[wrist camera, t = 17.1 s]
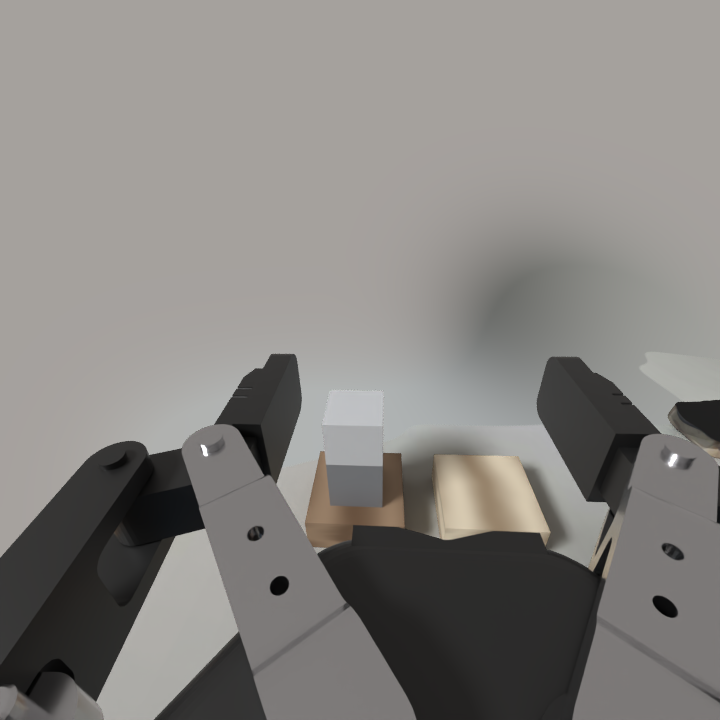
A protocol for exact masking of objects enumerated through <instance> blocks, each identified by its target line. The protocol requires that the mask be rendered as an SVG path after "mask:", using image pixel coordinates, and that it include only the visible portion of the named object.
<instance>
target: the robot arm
mask: <svg viewBox="0 0 720 720" xmlns="http://www.w3.org/2000/svg"><path fill="white" fill-rule="evenodd" d="M301 401H302V397H301V387H300V380H299V372H298V364H297V358H296V356H295V355H294V354H271V355H270V357H269V359H268V361H267V362H266V364H265V366H264V368H263V369H254V370H253V371H252V372H250V373H249V374H248V375H246V376H245V377H244V378H243V379H242V381H241V383H240V384H239V386H238V389H236V391H235V392H234V394H233V397H232V398H231V399H230V400H229V402H228V403H227V405H226V407H225V408H224V410H223V411H222V413H221V415H220V416H219V418H218V419H217V421H216V423H215V424H214V425H212V426H208V427H205V428H202V429H200V430H198V431H196V432H195V433H194V434H192V435H191V436H190V437H189V438H188V439H187V440H186V441H185V443H184V444H183V447H182V448H181V449H177V450H172V451H167V452H162V453H157V454H152V455H149V454H148V451H147V449H146V447H145V446H144V445H143V444H141V443H139V442H136V441H125V442H120V443H116V444H113V445H110V446H107V447H105V448H103V449H101V450H99V451H98V452H96V453H95V454H93V455H92V456H91V457H90V458H88V459H87V460H86V461H85V462H84V464H83V465H82V466H81V467H80V468H79V469H78V470H77V471H76V473H75V474H74V475H73V476H72V477H71V478H70V479H69V481H68V482H67V483H66V484H65V485H64V486H63V487H62V488H61V490H60V491H59V492H58V493H57V494H56V495H55V497H54V498H53V499H52V500H51V501H50V502H49V503H48V504H47V505H46V507H45V508H44V509H43V510H42V511H41V512H40V513H39V515H38V516H37V517H36V518H35V519H34V520H33V521H32V522H31V524H30V525H29V526H28V527H27V528H26V529H25V530H24V532H23V533H22V534H21V535H20V536H19V537H18V539H17V540H16V541H15V542H14V543H13V544H12V545H11V546H10V548H9V549H8V550H7V551H6V552H5V553H4V554H3V555H2V557H1V558H0V720H104V718H103V713H102V710H101V708H100V707H99V705H98V704H97V703H96V701H97V699H98V697H99V695H100V692H101V690H102V688H103V686H104V684H105V682H106V680H107V678H108V676H109V674H110V672H111V670H112V667H113V665H114V663H115V661H116V659H117V657H118V655H119V653H120V651H121V649H122V647H123V644H124V642H125V640H126V638H127V636H128V634H129V632H130V630H131V628H132V626H133V624H134V622H135V619H136V617H137V615H138V613H139V611H140V609H141V607H142V605H143V603H144V601H145V599H146V597H147V594H148V592H149V590H150V588H151V586H152V584H153V582H154V580H155V578H156V576H157V574H158V572H159V569H160V567H161V565H162V563H163V561H164V559H165V557H166V555H167V553H168V551H169V549H170V547H171V544H172V542H173V540H174V538H175V536H177V535H181V534H185V533H189V532H193V531H197V530H201V529H206V532H207V535H208V538H209V541H210V544H211V547H212V550H213V553H214V556H215V559H216V562H217V565H218V568H219V572H220V575H221V578H222V581H223V584H224V587H225V590H226V593H227V596H228V599H229V602H230V605H231V608H232V611H233V614H234V618H235V621H236V624H237V627H238V630H239V632H238V633H237V634H236V635H235V636H234V637H233V638H232V639H231V640H230V641H229V642H228V643H227V644H226V645H225V646H224V647H223V648H222V649H221V650H220V651H219V652H218V654H217V655H216V656H215V657H214V658H213V659H212V660H211V661H210V662H209V663H208V664H207V665H206V666H205V667H204V668H203V669H202V670H201V671H200V672H199V673H198V674H197V675H196V676H195V677H194V678H193V680H192V681H191V682H190V683H189V684H188V685H187V686H186V687H185V688H184V689H183V690H182V691H181V692H180V693H179V694H178V695H177V696H176V697H175V698H174V699H173V700H172V701H171V702H170V703H169V704H168V706H167V707H166V708H165V709H164V710H163V711H162V712H161V713H160V714H159V715H158V716H157V717H156V718H155V719H154V720H720V466H718V465H717V462H716V461H715V460H714V458H713V457H712V456H711V455H710V454H709V453H707V452H706V451H705V450H703V449H702V448H700V447H699V446H697V445H695V444H693V443H691V442H689V441H687V440H684V439H681V438H678V437H675V436H671V435H665V434H661V433H660V432H659V431H658V430H657V428H656V427H655V426H654V425H653V424H652V423H651V422H650V421H649V420H648V419H647V418H646V417H645V416H644V415H643V414H642V413H641V412H640V411H639V410H638V409H637V408H636V407H635V406H634V405H632V402H631V401H630V400H629V399H628V398H627V397H626V396H623V393H622V392H621V391H620V390H619V389H618V388H617V387H616V386H615V384H613V382H611V381H609V380H608V379H606V378H604V377H602V376H601V375H599V374H597V373H593V372H592V371H591V370H590V369H589V368H588V367H587V365H586V364H585V363H584V362H583V361H582V360H581V359H580V358H579V357H551V358H549V360H548V361H547V364H546V368H545V371H544V375H543V379H542V383H541V387H540V390H539V394H538V398H537V411H538V415H539V417H540V419H541V421H542V423H543V425H544V426H545V428H546V430H547V432H548V433H549V435H550V437H551V439H552V441H553V442H554V444H555V446H556V448H557V449H558V451H559V453H560V455H561V457H562V458H563V460H564V462H565V464H566V466H567V467H568V469H569V471H570V473H571V474H572V476H573V478H574V480H575V482H576V483H577V485H578V487H579V489H580V490H581V492H582V494H583V496H584V498H585V499H586V501H587V502H607V504H608V506H609V507H610V508H609V510H608V512H607V514H606V516H605V519H604V522H603V525H602V528H601V531H600V534H599V537H598V540H597V543H596V546H595V549H594V552H593V555H592V558H591V561H590V564H589V567H588V568H587V567H585V566H583V565H582V564H580V563H578V562H576V561H574V560H572V559H570V558H568V557H566V556H564V555H562V554H559V553H556V552H554V551H551V550H547V549H546V547H545V544H544V542H543V539H542V537H541V534H540V533H534V532H510V531H490V532H485V533H480V534H475V535H471V536H466V537H461V538H456V539H451V540H444V539H439V538H436V537H432V536H429V535H425V534H422V533H418V532H414V531H411V530H407V529H404V528H400V527H388V526H364V525H353V532H352V540H348V541H344V542H341V543H338V544H335V545H332V546H330V547H328V548H326V549H324V550H322V551H321V552H319V553H318V554H317V553H316V552H315V550H314V548H313V547H312V545H311V543H310V541H309V540H308V538H307V536H306V535H305V533H304V531H303V529H302V528H301V526H300V524H299V523H298V521H297V519H296V518H295V516H294V514H293V512H292V511H291V509H290V507H289V506H288V504H287V502H286V500H285V499H284V497H283V495H282V494H281V492H280V490H279V488H278V487H277V485H276V483H277V480H278V477H279V474H280V471H281V468H282V465H283V462H284V459H285V456H286V453H287V450H288V447H289V444H290V440H291V438H292V435H293V432H294V429H295V426H296V423H297V419H298V417H299V414H300V410H301Z"/></svg>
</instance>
